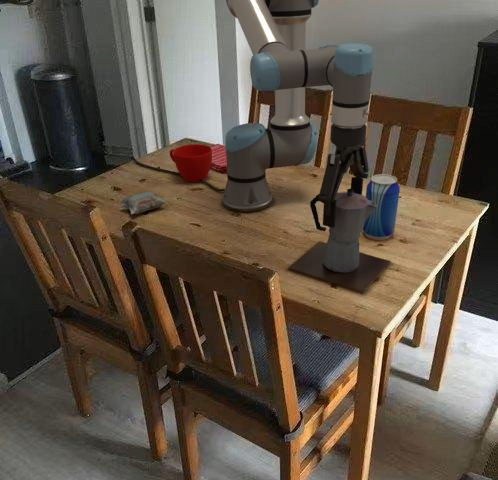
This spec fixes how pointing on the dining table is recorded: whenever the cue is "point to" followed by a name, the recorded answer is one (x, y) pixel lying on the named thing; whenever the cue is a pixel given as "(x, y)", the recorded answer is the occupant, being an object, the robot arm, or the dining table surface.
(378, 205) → the beer can
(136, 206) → the packaged food
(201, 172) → the ceramic cup
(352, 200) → the moka pot
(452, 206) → the dining table surface
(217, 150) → the dish towel
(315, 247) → the walnut trivet
